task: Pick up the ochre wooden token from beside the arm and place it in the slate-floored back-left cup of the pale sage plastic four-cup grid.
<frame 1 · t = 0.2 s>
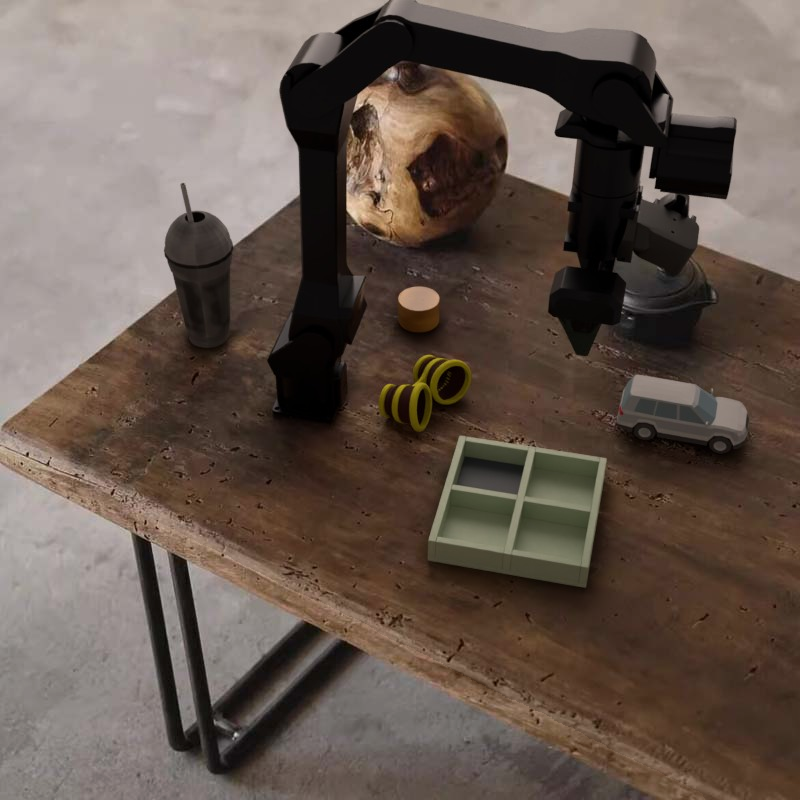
hand: (588, 324, 124), 14 cm above the table, tool pointing down, fingers open, 9 cm apart
beverage cup: (209, 336, 146), on the table
grid: (518, 518, 125), on the table
token: (418, 320, 148), on the table
opera glasses: (423, 408, 137), on the table
toy car: (680, 431, 134), on the table
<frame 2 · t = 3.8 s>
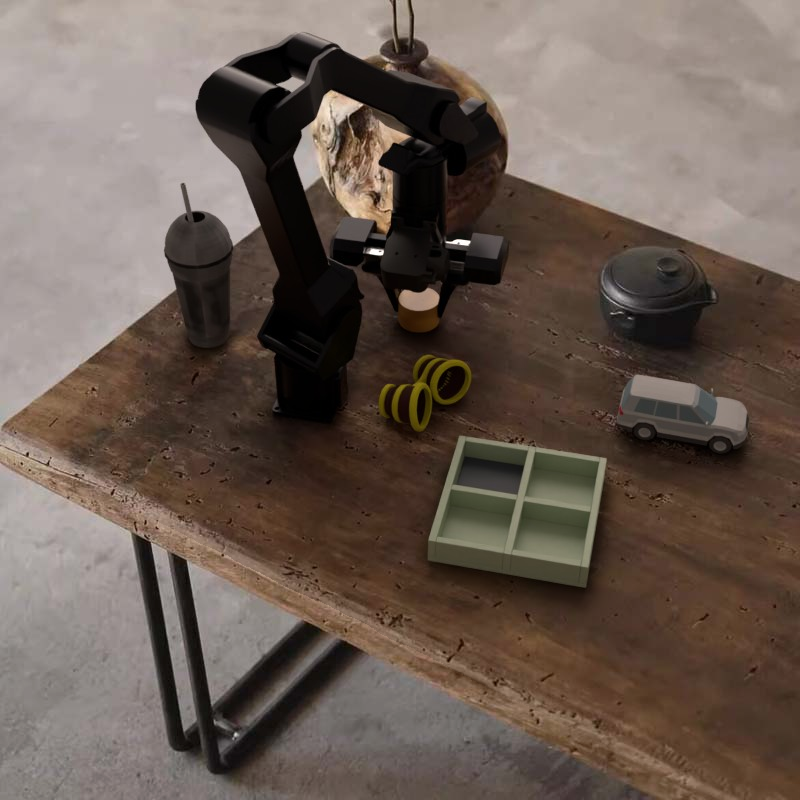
hand: (418, 312, 147), 1 cm above the table, tool pointing down, fingers closed on token, 4 cm apart
token: (418, 320, 148), on the table, touching gripper
everything else where it was.
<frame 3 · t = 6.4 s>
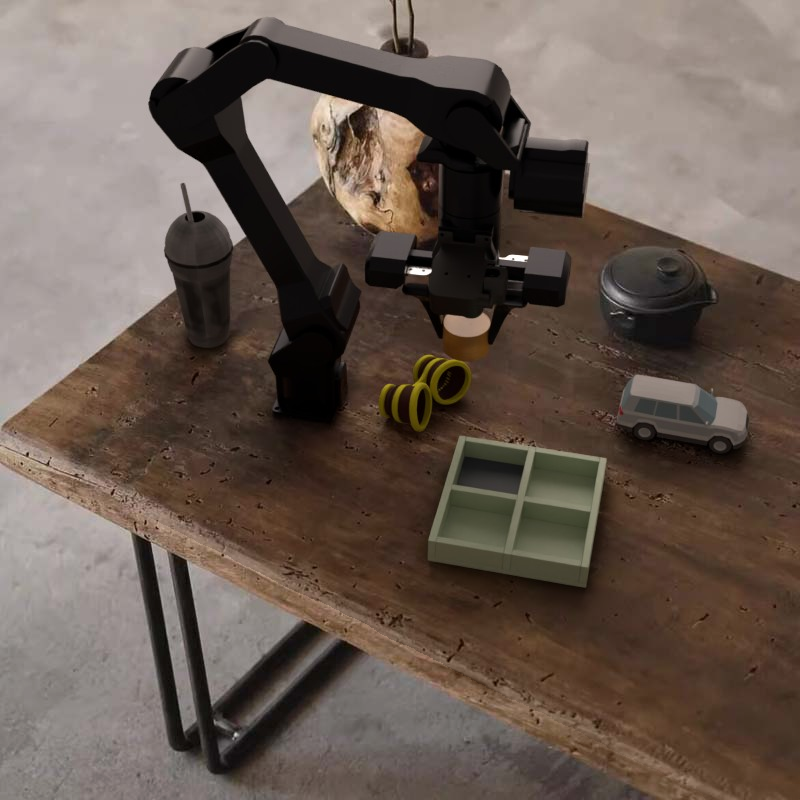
hand: (465, 339, 128), 10 cm above the table, tool pointing down, fingers closed on token, 4 cm apart
token: (466, 346, 129), point 9 cm above the table, touching gripper
everything else where it was.
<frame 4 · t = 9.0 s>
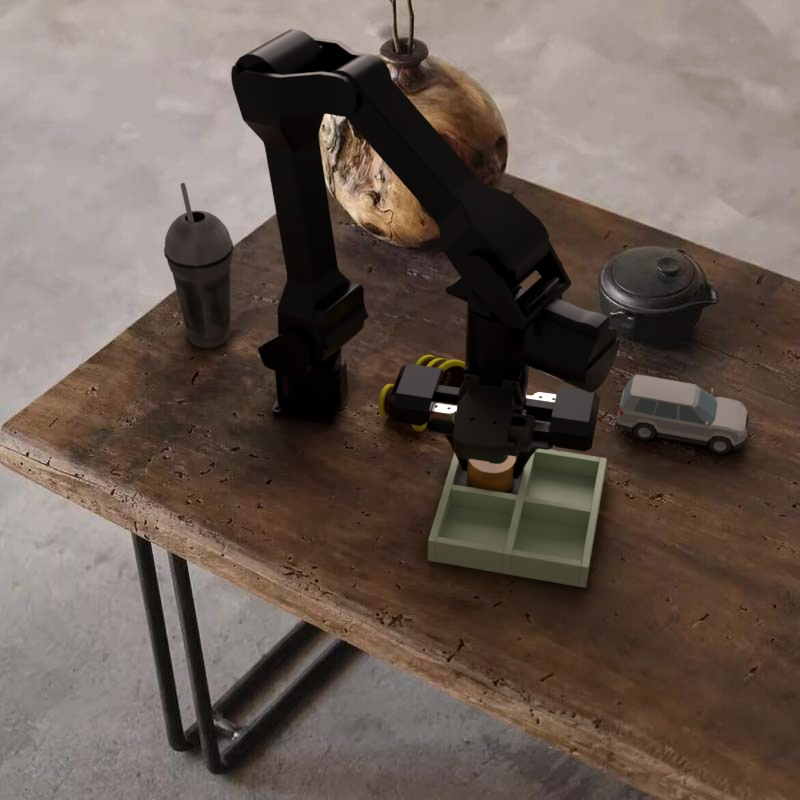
hand: (490, 472, 126), 2 cm above the table, tool pointing down, fingers closed on token, 4 cm apart
token: (490, 479, 127), point 1 cm above the table, touching gripper
everything else where it was.
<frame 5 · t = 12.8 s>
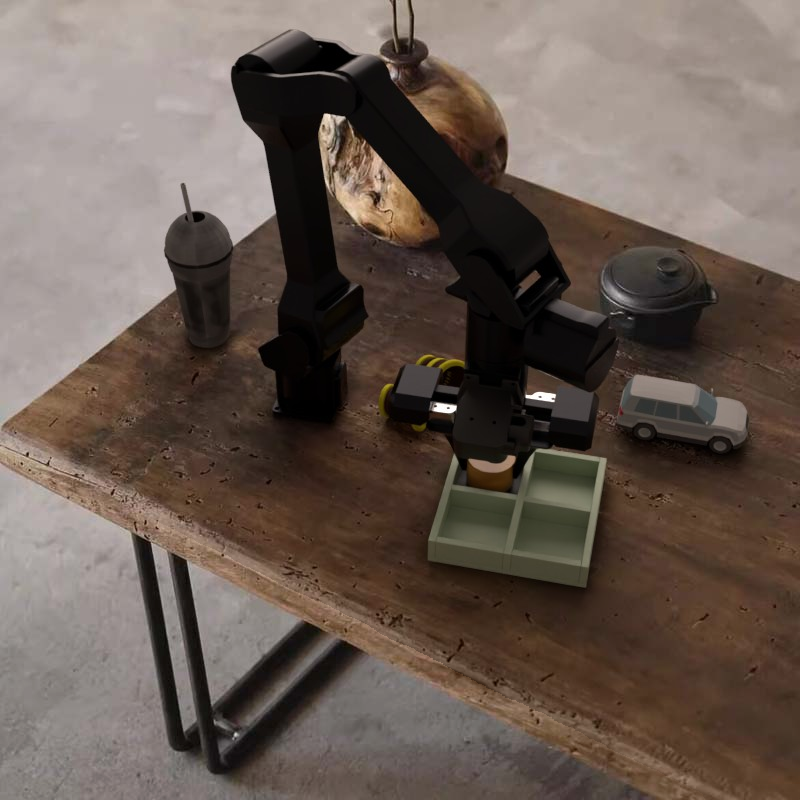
hand: (490, 471, 126), 2 cm above the table, tool pointing down, fingers closed on token, 4 cm apart
token: (490, 478, 127), point 1 cm above the table, touching gripper
everything else where it was.
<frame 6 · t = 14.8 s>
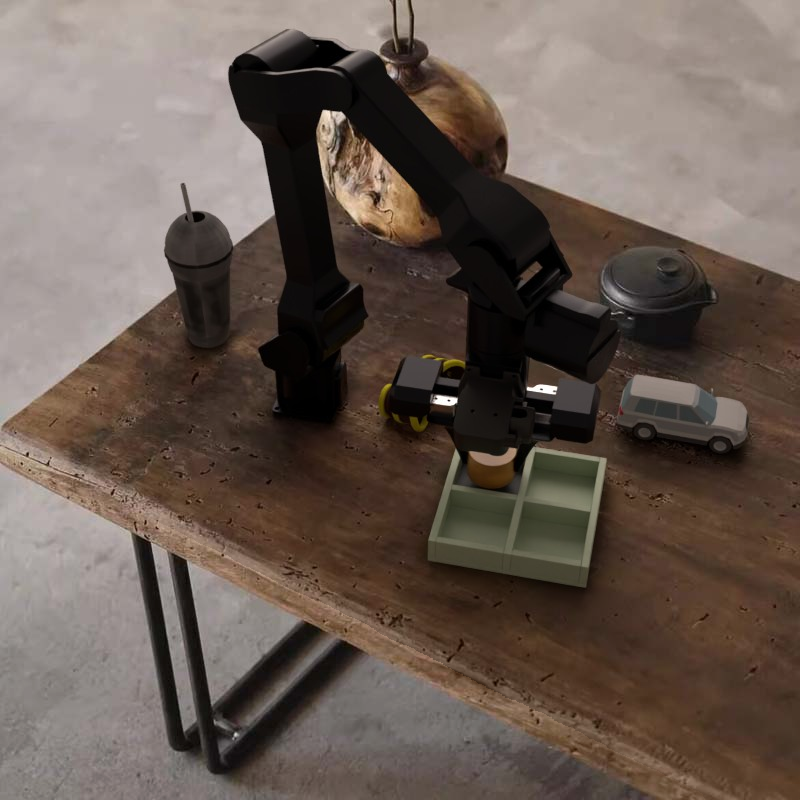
hand: (491, 465, 126), 3 cm above the table, tool pointing down, fingers closed on token, 5 cm apart
token: (490, 472, 126), point 2 cm above the table, touching gripper
everything else where it was.
when the fingers open (3 cm above the table, at t = 16.3 s): token drops 2 cm, resting on grid.
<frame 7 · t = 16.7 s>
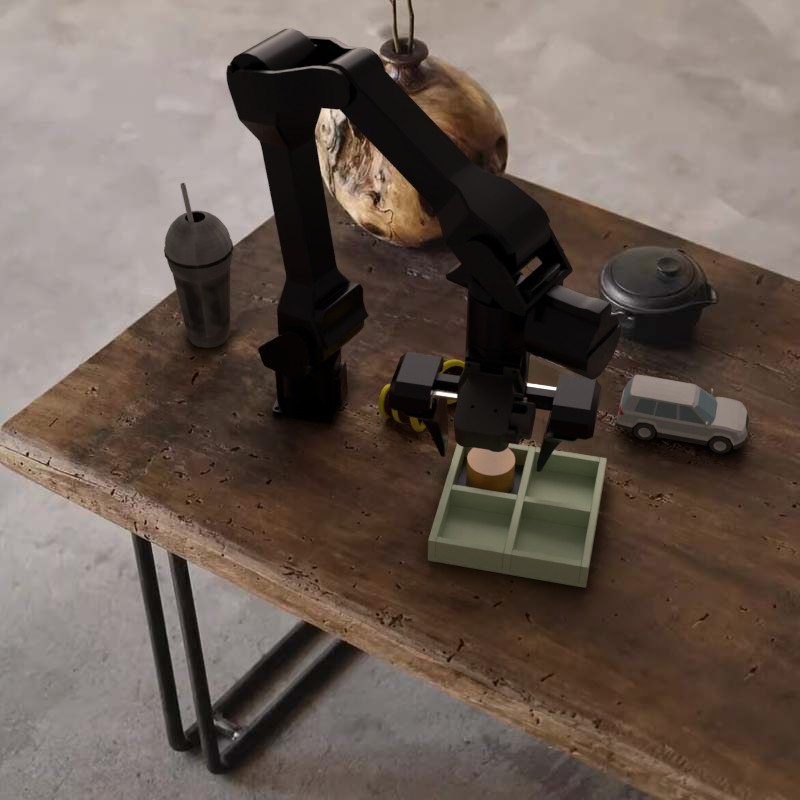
hand: (491, 461, 125), 3 cm above the table, tool pointing down, fingers open, 9 cm apart
token: (489, 481, 127), point 1 cm above the table, touching grid
everything else where it was.
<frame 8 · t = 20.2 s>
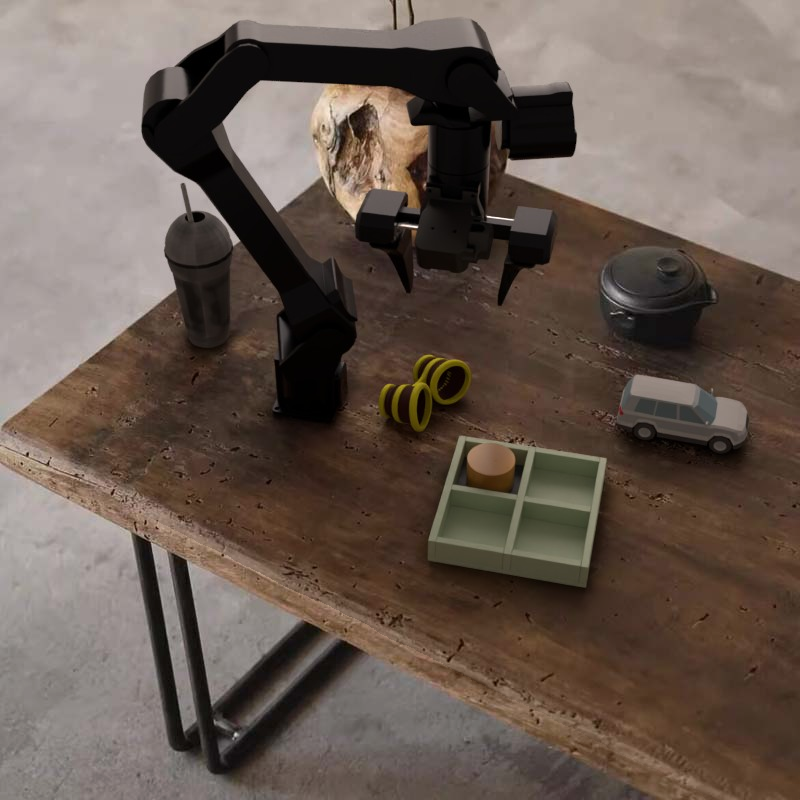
hand: (454, 297, 131), 12 cm above the table, tool pointing down, fingers open, 9 cm apart
nothing on the table moved.
at the end: token 0.1 cm from the target spot in the grid, point 0.7 cm above the grid's base; token tilted 0°; the gripper is holding nothing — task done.
